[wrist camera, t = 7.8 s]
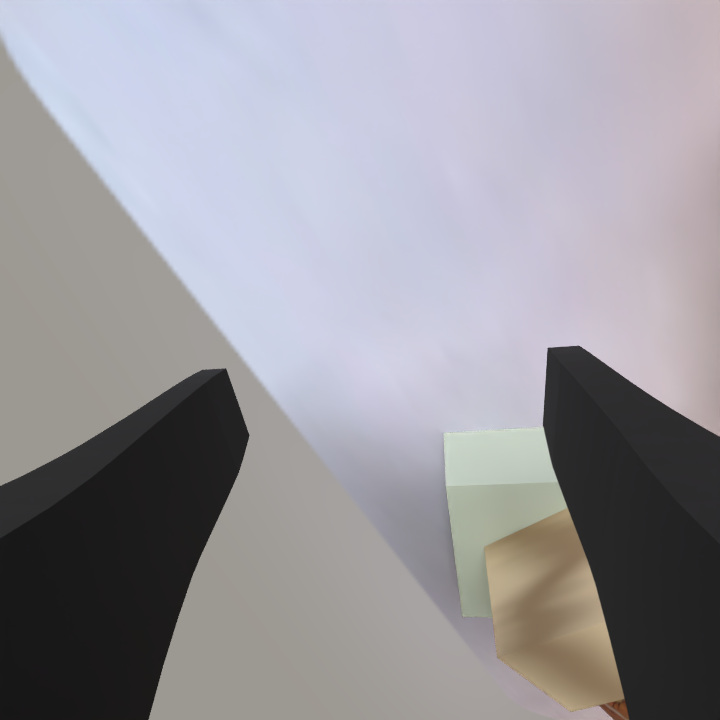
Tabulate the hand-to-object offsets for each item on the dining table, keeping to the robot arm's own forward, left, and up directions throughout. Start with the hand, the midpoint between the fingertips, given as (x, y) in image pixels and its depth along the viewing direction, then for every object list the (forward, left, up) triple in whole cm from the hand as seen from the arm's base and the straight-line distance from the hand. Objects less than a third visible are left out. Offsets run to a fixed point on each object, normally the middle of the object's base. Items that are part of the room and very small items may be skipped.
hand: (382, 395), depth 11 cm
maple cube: (-6, +14, -6) cm, 17 cm away
